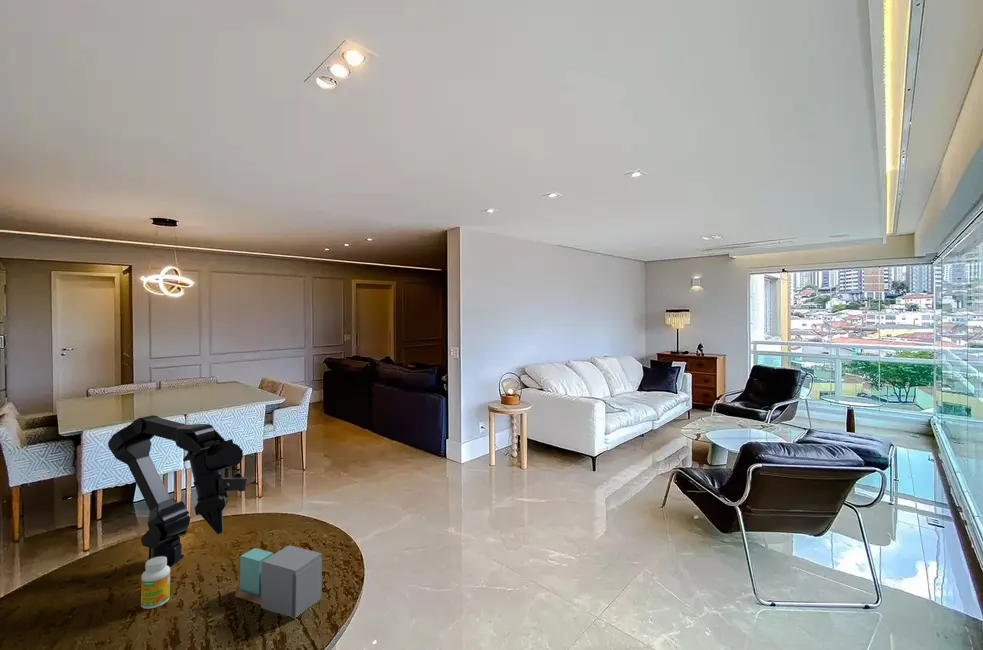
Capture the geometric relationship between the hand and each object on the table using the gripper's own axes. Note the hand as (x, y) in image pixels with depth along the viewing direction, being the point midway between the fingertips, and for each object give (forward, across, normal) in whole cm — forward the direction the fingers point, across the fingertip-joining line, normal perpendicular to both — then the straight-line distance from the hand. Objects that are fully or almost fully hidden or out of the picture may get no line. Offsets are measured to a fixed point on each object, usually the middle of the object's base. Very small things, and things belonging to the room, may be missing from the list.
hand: (220, 533), depth 113 cm
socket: (+18, -17, -12) cm, 27 cm away
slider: (+15, -9, -6) cm, 19 cm away
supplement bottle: (+9, -2, +15) cm, 18 cm away
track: (+15, -10, -6) cm, 19 cm away
